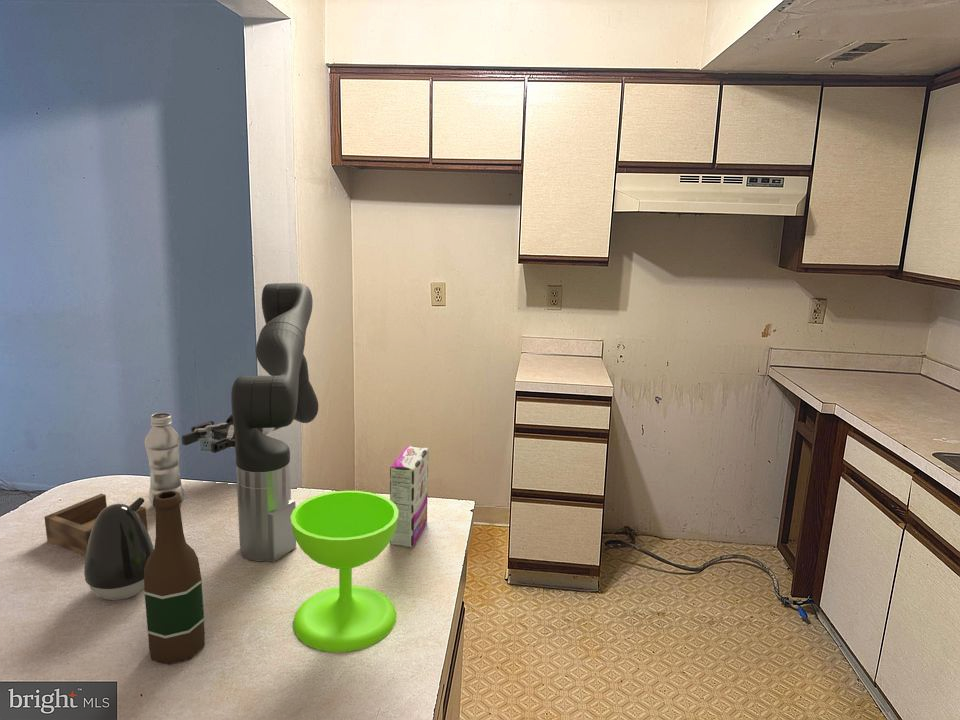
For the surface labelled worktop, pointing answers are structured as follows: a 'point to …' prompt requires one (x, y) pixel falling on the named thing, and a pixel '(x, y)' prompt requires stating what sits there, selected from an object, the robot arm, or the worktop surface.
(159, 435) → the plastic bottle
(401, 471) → the candy bar box
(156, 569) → the beer bottle
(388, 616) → the wineglass
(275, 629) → the worktop surface
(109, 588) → the black egg-shaped dispenser
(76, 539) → the u rest
